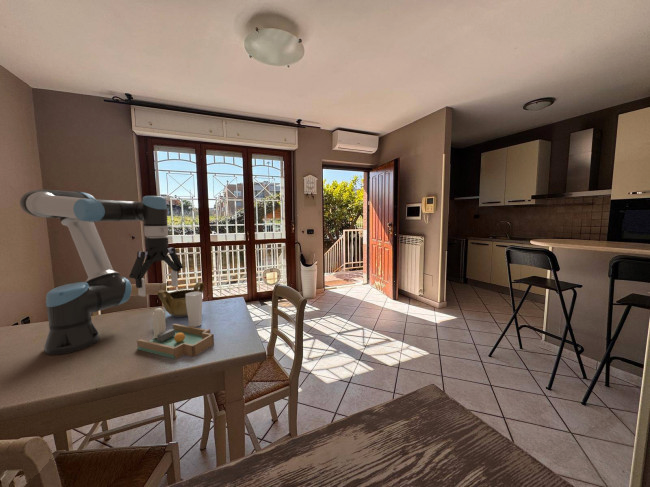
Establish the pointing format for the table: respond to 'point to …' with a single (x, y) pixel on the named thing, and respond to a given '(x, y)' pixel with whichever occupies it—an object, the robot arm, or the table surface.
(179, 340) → the ball
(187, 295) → the drinking glass
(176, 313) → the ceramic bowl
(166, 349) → the pitch
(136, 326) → the table surface
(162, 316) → the striker
